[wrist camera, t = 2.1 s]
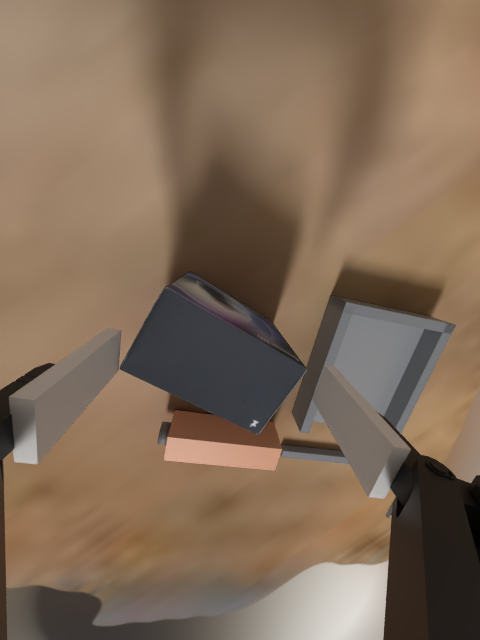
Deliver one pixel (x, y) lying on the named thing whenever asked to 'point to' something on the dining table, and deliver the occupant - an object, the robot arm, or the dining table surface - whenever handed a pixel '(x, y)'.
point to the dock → (370, 363)
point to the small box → (214, 354)
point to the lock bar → (218, 442)
